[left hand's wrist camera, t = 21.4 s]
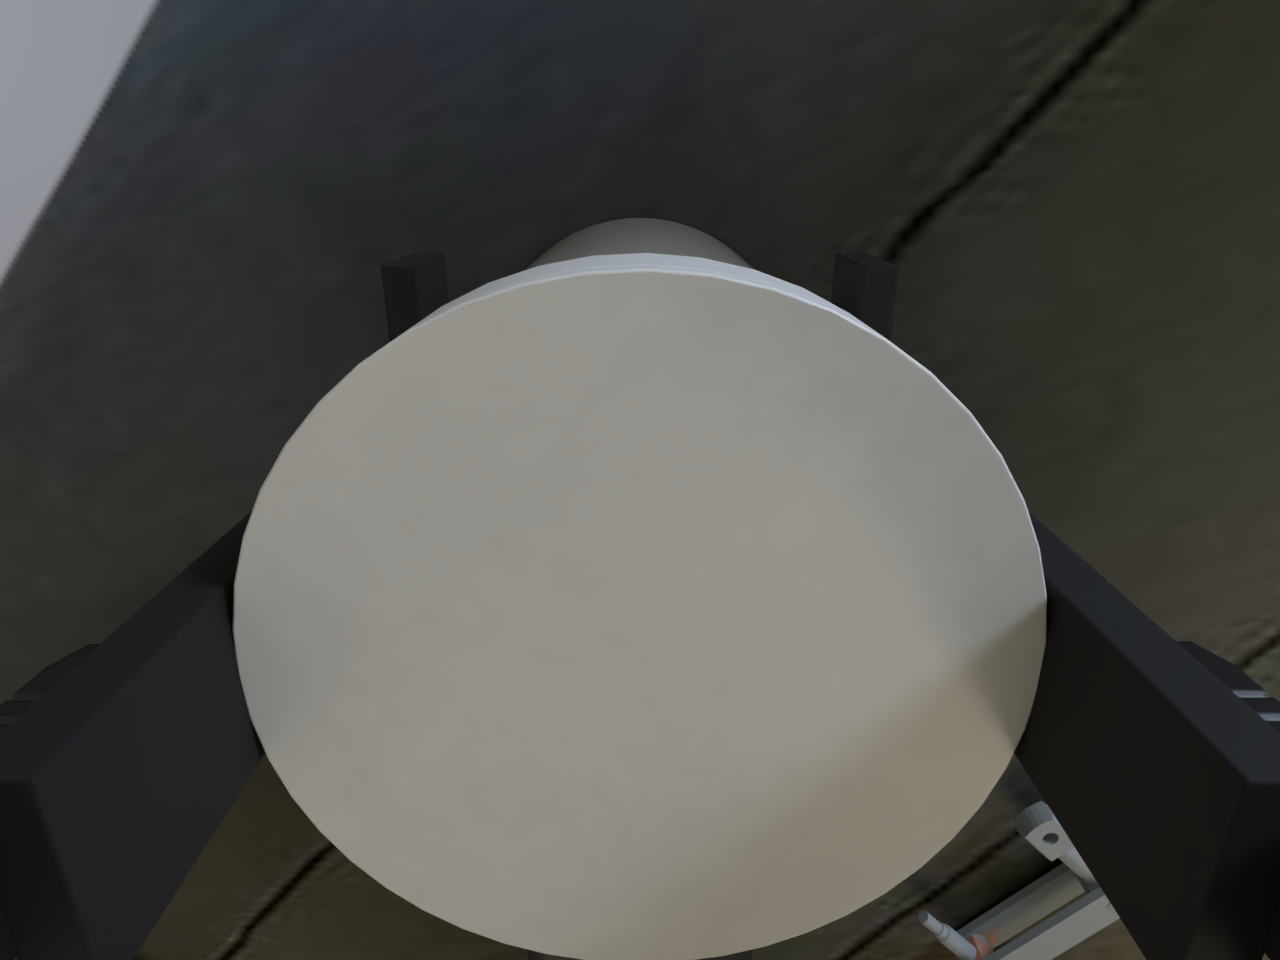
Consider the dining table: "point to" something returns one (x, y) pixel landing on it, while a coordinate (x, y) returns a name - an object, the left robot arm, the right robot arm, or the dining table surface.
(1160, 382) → the dining table surface
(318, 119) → the dining table surface
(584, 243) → the jar
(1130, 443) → the dining table surface
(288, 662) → the lid
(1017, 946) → the clamp
